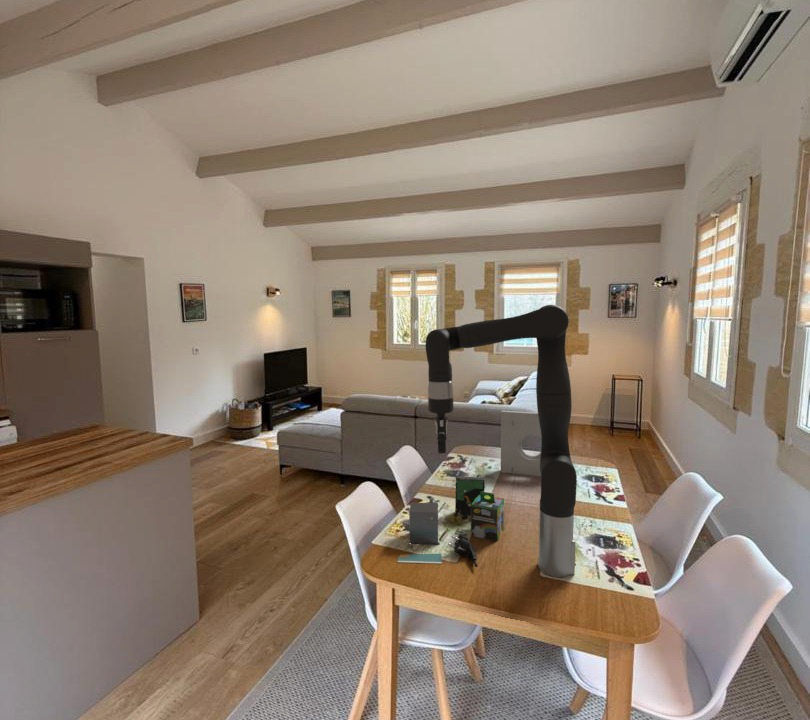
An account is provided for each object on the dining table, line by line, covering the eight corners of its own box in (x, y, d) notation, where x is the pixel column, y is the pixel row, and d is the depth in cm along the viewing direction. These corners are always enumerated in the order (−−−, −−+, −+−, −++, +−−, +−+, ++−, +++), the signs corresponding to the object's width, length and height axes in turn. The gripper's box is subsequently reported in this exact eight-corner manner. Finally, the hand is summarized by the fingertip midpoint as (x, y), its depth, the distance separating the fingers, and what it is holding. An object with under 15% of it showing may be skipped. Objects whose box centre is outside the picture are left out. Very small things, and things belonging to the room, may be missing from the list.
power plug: (483, 558, 124) (474, 537, 136) (459, 548, 124) (452, 527, 136) (474, 575, 125) (465, 553, 137) (450, 565, 124) (444, 543, 136)
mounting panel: (500, 479, 195) (500, 412, 192) (500, 475, 200) (501, 410, 197) (563, 485, 187) (565, 416, 184) (563, 480, 192) (565, 413, 189)
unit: (439, 534, 146) (439, 502, 145) (439, 546, 138) (439, 513, 137) (409, 533, 147) (409, 501, 146) (408, 545, 139) (407, 512, 138)
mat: (441, 548, 137) (441, 547, 137) (441, 564, 128) (441, 563, 128) (399, 547, 138) (399, 546, 138) (397, 563, 129) (397, 561, 129)
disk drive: (484, 516, 158) (484, 477, 157) (484, 520, 156) (484, 480, 154) (455, 514, 160) (455, 475, 159) (455, 517, 158) (455, 478, 156)
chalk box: (504, 531, 148) (505, 488, 146) (497, 543, 140) (498, 499, 138) (478, 525, 152) (478, 484, 150) (469, 537, 144) (470, 494, 142)
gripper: (454, 400, 123) (455, 456, 125) (452, 391, 138) (452, 442, 139) (427, 400, 124) (429, 456, 125) (428, 392, 138) (429, 442, 140)
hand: (441, 448), depth 132 cm, fingers open, 8 cm apart
